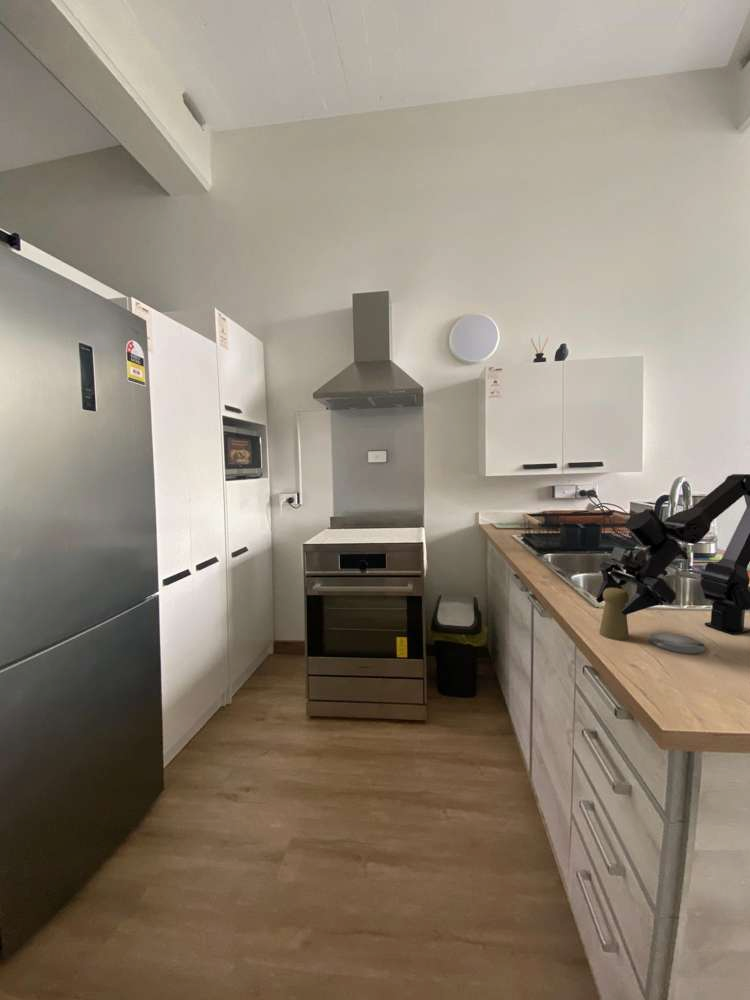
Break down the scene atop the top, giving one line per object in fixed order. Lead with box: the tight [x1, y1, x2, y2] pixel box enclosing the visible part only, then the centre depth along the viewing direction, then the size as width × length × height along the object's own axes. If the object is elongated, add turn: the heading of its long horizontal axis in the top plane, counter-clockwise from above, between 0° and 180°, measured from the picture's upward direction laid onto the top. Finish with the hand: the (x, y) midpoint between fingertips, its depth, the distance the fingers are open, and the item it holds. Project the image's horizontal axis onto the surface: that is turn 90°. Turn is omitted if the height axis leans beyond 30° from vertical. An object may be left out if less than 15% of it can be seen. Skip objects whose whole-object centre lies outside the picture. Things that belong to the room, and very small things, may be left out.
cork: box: [598, 588, 630, 641], centre depth 99 cm, size 6×6×11 cm
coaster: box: [648, 631, 706, 655], centre depth 94 cm, size 10×10×1 cm
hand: (609, 607), depth 99 cm, fingers open, 8 cm apart
